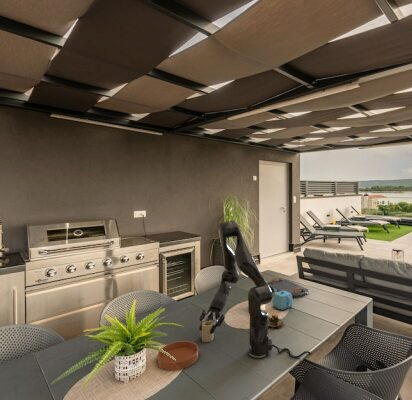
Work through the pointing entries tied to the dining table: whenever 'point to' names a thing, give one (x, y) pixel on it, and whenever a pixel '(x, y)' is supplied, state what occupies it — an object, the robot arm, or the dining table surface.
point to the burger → (275, 321)
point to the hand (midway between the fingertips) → (205, 331)
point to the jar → (207, 331)
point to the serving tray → (287, 287)
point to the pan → (178, 355)
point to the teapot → (282, 299)
